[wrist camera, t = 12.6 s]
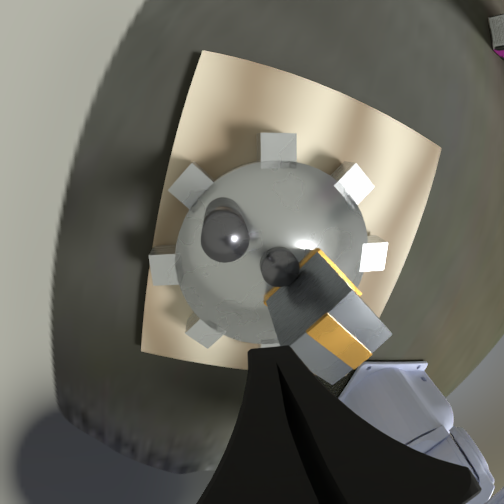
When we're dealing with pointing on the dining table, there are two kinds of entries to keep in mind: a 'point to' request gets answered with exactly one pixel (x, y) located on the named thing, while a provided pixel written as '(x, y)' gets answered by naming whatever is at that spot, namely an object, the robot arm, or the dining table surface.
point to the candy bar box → (497, 33)
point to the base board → (308, 152)
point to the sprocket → (262, 238)
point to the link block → (325, 321)
